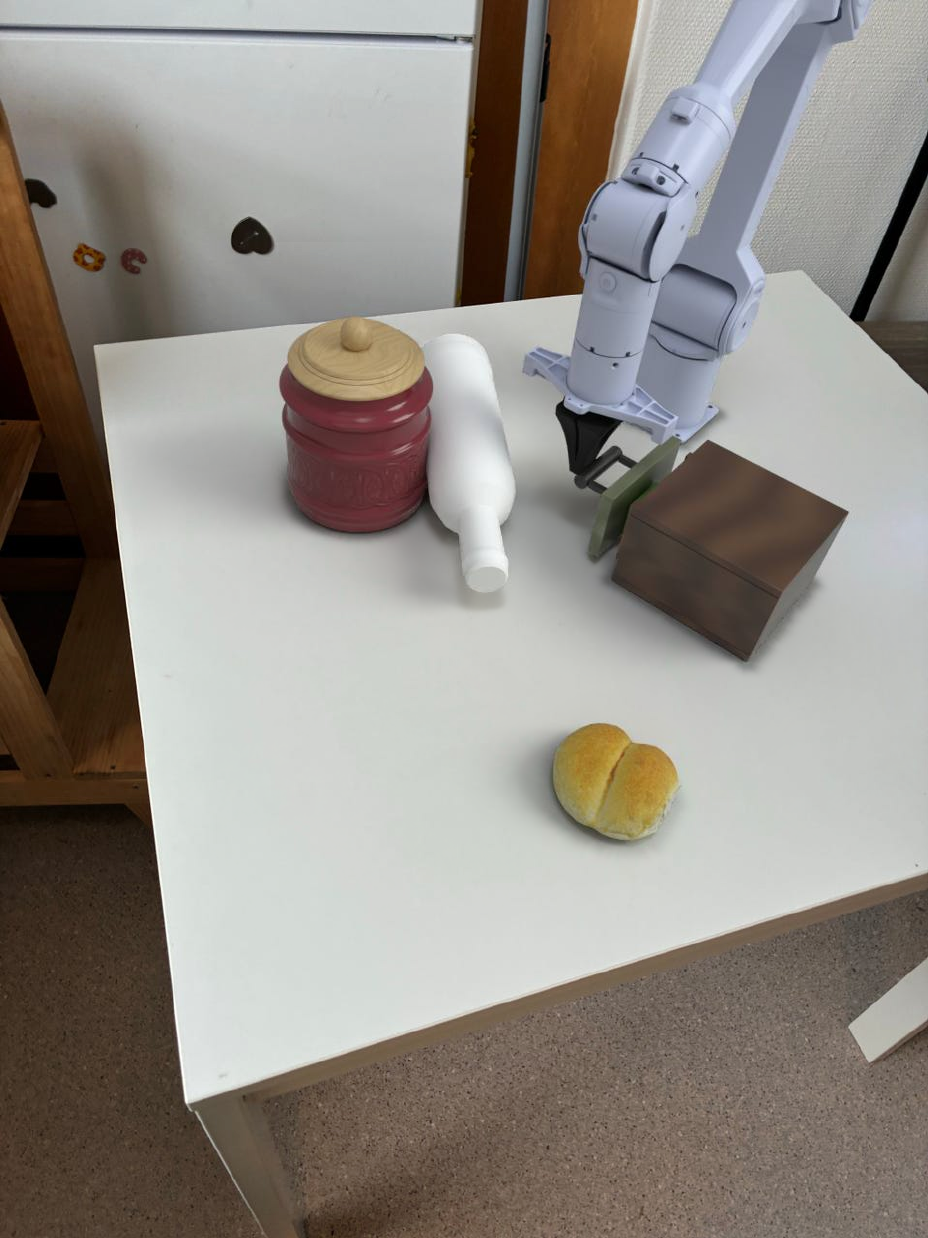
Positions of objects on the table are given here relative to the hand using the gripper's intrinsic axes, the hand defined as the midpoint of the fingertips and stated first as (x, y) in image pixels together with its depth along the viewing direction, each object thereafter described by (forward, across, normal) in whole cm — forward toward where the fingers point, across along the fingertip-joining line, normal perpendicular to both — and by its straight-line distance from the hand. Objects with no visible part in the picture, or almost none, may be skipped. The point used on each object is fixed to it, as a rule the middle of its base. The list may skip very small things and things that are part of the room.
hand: (580, 468), depth 83 cm
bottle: (0, -19, +4) cm, 20 cm away
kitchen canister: (+4, -16, -13) cm, 21 cm away
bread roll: (+4, +20, -24) cm, 32 cm away
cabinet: (+4, +15, 0) cm, 16 cm away
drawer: (+3, +9, 0) cm, 10 cm away
